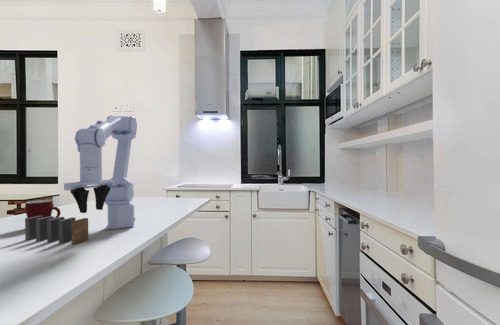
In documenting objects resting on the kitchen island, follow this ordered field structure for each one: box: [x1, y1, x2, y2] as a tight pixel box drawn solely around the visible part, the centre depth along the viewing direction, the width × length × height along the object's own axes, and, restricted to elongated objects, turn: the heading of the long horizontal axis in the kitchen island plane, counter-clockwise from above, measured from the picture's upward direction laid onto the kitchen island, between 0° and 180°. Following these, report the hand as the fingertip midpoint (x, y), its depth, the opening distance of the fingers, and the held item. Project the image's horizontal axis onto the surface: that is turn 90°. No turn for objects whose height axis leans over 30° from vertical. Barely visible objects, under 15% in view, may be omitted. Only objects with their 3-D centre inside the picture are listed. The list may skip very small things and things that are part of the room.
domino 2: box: [35, 215, 55, 242], centre depth 81 cm, size 2×4×7 cm, turn 167°
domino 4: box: [58, 216, 76, 244], centre depth 79 cm, size 2×4×7 cm, turn 167°
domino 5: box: [71, 217, 89, 245], centre depth 78 cm, size 2×4×7 cm, turn 167°
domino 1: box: [24, 216, 43, 241], centre depth 82 cm, size 2×4×7 cm, turn 167°
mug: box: [24, 199, 61, 218], centre depth 96 cm, size 10×8×10 cm
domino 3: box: [46, 216, 65, 243], centre depth 80 cm, size 2×4×7 cm, turn 167°
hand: (91, 211), depth 77 cm, fingers open, 4 cm apart
